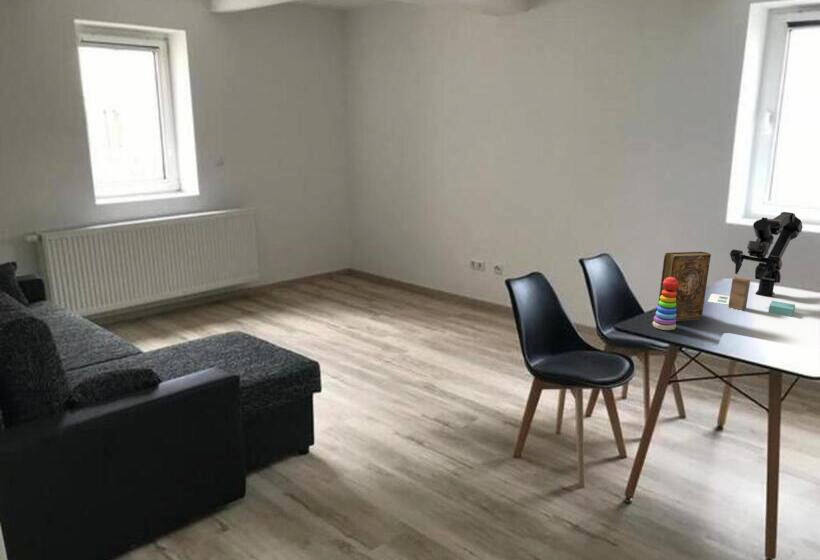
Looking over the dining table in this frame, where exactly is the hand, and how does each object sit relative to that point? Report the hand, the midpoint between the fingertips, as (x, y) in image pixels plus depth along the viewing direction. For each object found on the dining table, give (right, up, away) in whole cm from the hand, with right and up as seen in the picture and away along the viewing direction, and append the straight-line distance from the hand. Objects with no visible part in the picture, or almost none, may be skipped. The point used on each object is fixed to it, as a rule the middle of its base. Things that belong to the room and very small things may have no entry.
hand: (747, 276), depth 261 cm
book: (-33, -16, -15) cm, 40 cm away
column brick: (-5, -13, -1) cm, 14 cm away
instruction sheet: (-5, -10, +10) cm, 15 cm away
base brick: (+10, -14, -5) cm, 18 cm away
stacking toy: (-43, -19, -25) cm, 54 cm away
